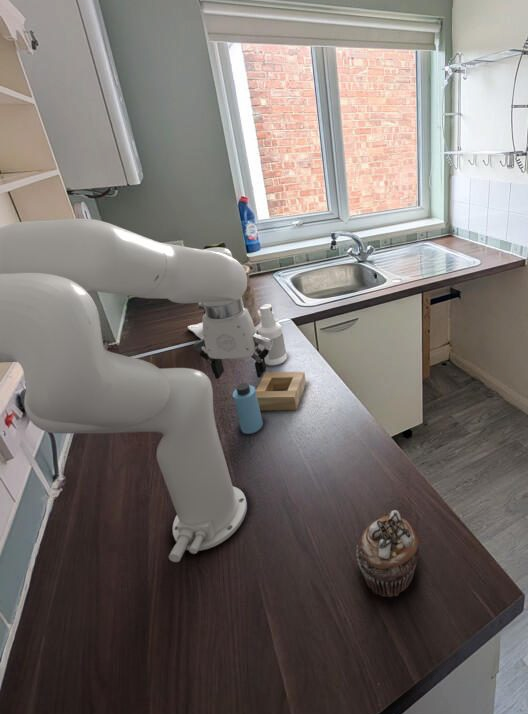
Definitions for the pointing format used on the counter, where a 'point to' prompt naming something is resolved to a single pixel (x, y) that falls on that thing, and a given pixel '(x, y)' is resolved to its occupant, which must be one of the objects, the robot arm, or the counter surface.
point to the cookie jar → (247, 298)
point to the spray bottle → (272, 336)
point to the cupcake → (388, 554)
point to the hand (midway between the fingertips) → (240, 374)
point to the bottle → (247, 408)
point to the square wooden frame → (280, 399)
